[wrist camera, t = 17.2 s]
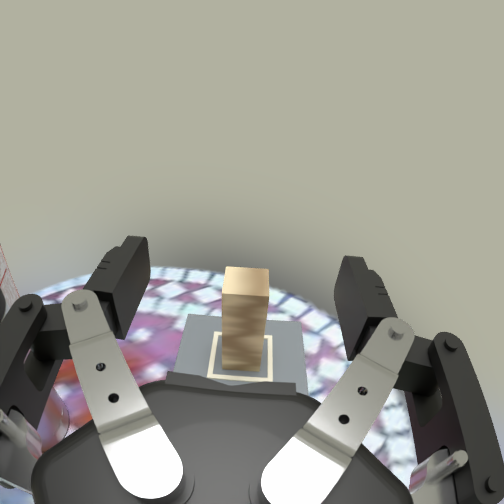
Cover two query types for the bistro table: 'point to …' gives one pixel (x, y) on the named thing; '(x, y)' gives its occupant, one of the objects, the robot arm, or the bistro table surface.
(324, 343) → the bistro table surface
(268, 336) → the grey rectangular slab
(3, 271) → the cracker box
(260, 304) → the maple block
